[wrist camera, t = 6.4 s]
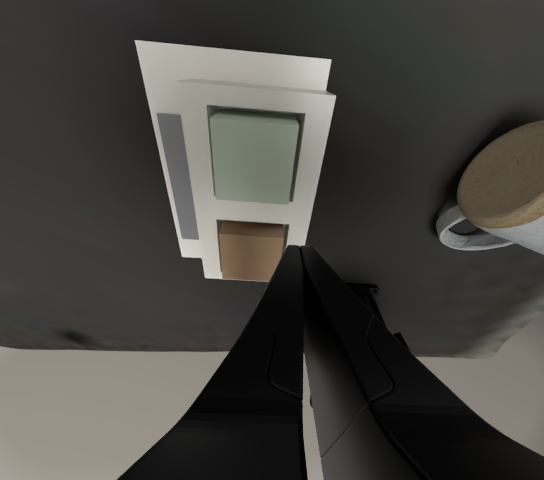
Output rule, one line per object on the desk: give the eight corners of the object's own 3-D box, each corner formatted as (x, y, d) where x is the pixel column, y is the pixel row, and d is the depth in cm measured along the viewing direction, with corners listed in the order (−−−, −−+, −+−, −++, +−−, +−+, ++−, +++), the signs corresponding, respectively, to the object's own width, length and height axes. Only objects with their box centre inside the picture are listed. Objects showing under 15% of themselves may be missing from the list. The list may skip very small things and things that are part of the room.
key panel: (328, 60, 14) (344, 57, 11) (293, 257, 23) (296, 287, 20) (143, 41, 13) (101, 33, 10) (185, 250, 23) (170, 279, 20)
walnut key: (282, 215, 18) (283, 238, 15) (277, 257, 21) (277, 282, 18) (226, 211, 18) (218, 233, 15) (228, 253, 20) (222, 278, 18)
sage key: (294, 115, 14) (299, 125, 11) (286, 184, 16) (288, 204, 14) (221, 109, 13) (209, 118, 11) (224, 179, 16) (216, 199, 14)
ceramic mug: (508, 101, 15) (664, 128, 9) (598, 139, 16) (787, 185, 10) (405, 227, 21) (456, 293, 15) (476, 247, 23) (549, 315, 17)
